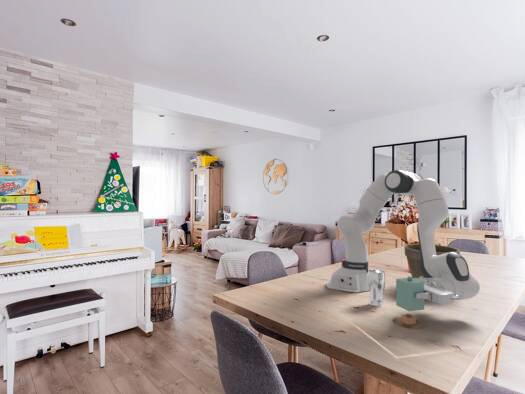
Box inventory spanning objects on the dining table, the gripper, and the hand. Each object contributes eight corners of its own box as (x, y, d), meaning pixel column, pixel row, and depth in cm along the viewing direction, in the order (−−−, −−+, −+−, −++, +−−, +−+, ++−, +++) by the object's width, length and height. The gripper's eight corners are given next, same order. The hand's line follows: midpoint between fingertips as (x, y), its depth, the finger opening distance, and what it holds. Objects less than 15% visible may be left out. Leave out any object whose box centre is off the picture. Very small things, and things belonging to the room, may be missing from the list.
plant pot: (469, 299, 141) (469, 252, 141) (412, 295, 146) (411, 250, 146) (448, 284, 166) (447, 244, 166) (399, 281, 171) (399, 243, 171)
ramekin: (407, 324, 111) (407, 318, 111) (401, 321, 115) (401, 314, 115) (415, 323, 112) (415, 317, 112) (409, 320, 116) (409, 313, 116)
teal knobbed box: (408, 311, 109) (408, 279, 109) (396, 305, 116) (396, 275, 116) (424, 309, 111) (423, 278, 111) (411, 303, 117) (411, 274, 117)
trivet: (393, 327, 110) (393, 325, 110) (391, 316, 121) (391, 315, 121) (427, 332, 106) (427, 330, 106) (423, 320, 117) (423, 318, 117)
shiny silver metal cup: (381, 302, 137) (381, 269, 137) (388, 307, 130) (387, 272, 130) (365, 302, 137) (365, 269, 137) (371, 308, 130) (371, 272, 130)
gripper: (462, 307, 106) (429, 310, 103) (419, 290, 126) (390, 292, 123) (462, 289, 106) (429, 292, 103) (419, 275, 126) (390, 277, 123)
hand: (407, 292), depth 113 cm, fingers closed on teal knobbed box, 7 cm apart
